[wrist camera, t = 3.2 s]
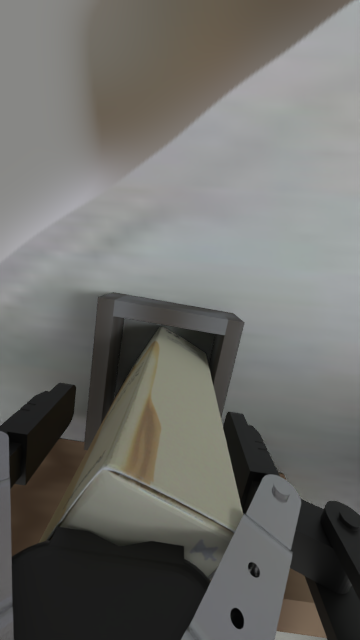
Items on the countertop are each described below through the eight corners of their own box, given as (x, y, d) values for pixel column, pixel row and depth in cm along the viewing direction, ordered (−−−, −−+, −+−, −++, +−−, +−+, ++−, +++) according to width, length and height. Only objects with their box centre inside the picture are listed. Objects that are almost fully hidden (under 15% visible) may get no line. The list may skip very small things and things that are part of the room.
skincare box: (160, 323, 17) (105, 451, 5) (208, 352, 17) (264, 536, 5) (118, 387, 18) (-8, 617, 6) (163, 414, 18) (129, 675, 7)
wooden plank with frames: (331, 330, 17) (460, 383, 9) (241, 597, 23) (272, 765, 15) (10, 274, 16) (-150, 278, 8) (8, 564, 22) (-85, 721, 15)
